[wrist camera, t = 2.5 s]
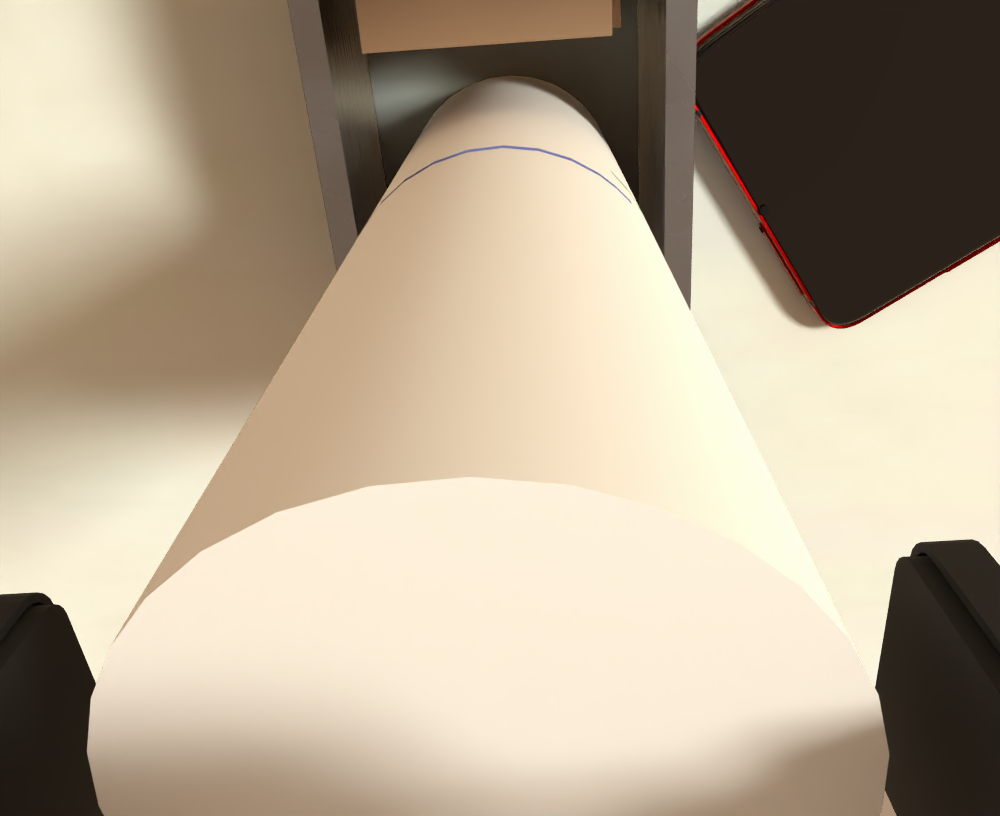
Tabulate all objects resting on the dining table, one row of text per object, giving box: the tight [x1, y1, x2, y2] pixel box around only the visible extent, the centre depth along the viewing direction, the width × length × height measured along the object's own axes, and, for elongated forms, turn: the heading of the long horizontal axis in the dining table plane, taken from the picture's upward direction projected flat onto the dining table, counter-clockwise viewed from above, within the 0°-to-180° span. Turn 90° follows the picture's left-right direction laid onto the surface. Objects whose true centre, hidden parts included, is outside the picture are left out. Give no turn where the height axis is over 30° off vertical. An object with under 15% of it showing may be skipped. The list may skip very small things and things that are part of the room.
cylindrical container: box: [87, 75, 889, 816], centre depth 19 cm, size 7×7×25 cm
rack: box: [287, 0, 698, 309], centre depth 23 cm, size 18×11×12 cm, turn 5°
